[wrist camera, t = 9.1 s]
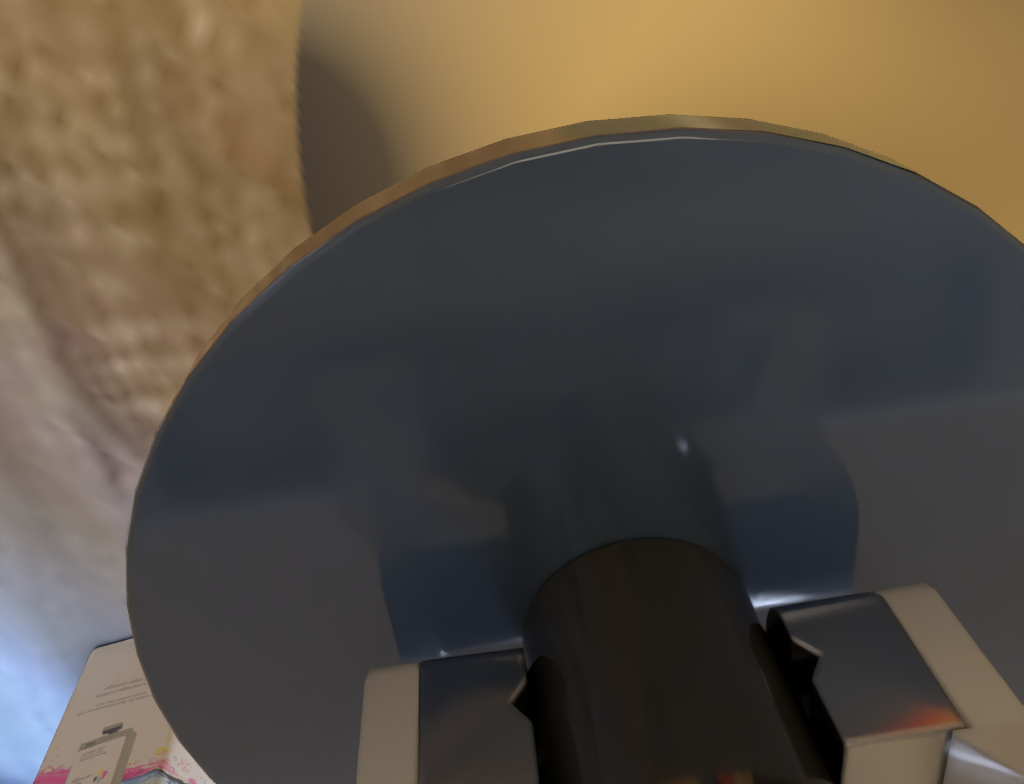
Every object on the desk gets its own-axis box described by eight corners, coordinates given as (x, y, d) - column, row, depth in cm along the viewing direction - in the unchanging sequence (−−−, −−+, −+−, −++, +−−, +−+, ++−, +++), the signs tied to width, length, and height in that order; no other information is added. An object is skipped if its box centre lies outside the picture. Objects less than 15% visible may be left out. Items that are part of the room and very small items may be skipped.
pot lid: (645, 902, 14) (723, 1264, 10) (-1, 647, 10) (-246, 1070, 6) (1221, 457, 10) (1663, 769, 7) (549, -184, 7) (701, -292, 3)
